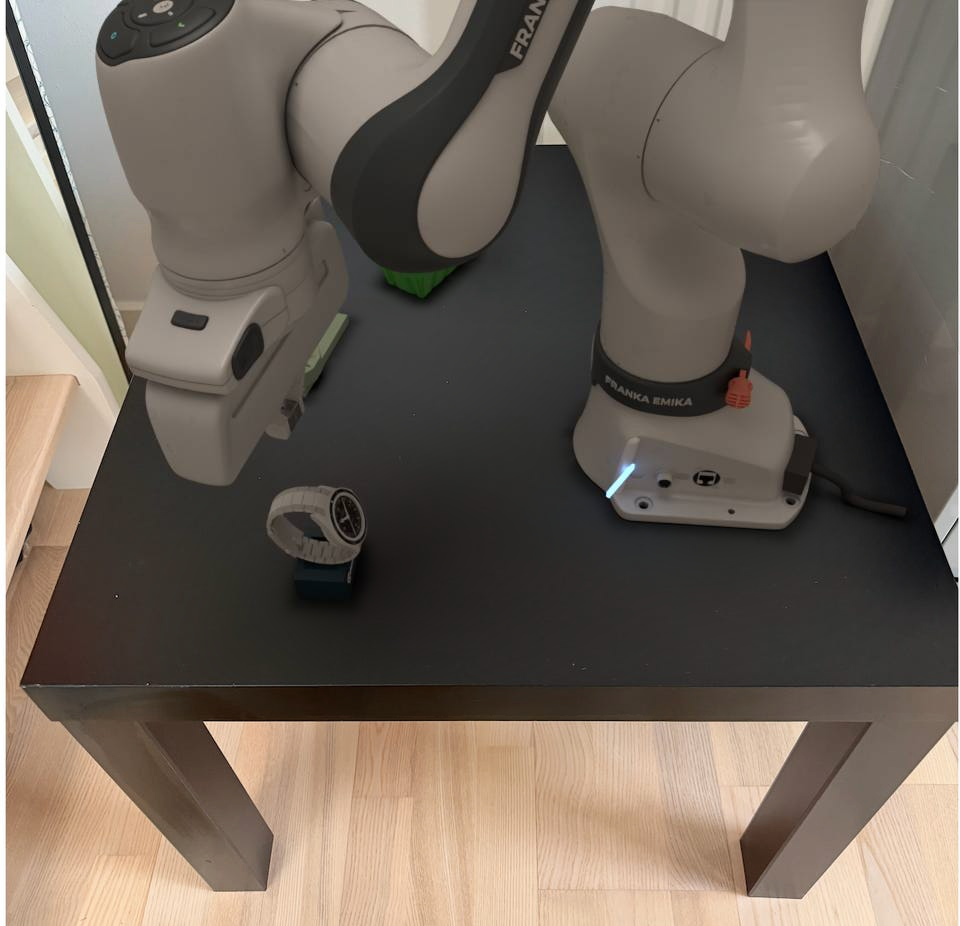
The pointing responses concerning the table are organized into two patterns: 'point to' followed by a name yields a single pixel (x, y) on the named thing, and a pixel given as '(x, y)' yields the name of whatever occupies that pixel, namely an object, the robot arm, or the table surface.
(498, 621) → the table surface
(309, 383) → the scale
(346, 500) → the watch
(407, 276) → the fruit basket
